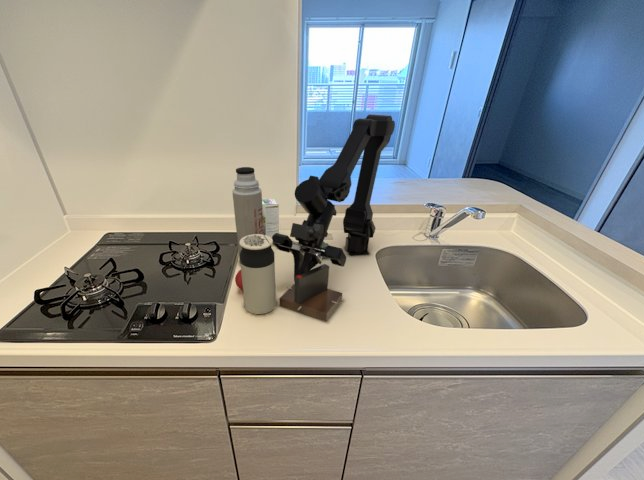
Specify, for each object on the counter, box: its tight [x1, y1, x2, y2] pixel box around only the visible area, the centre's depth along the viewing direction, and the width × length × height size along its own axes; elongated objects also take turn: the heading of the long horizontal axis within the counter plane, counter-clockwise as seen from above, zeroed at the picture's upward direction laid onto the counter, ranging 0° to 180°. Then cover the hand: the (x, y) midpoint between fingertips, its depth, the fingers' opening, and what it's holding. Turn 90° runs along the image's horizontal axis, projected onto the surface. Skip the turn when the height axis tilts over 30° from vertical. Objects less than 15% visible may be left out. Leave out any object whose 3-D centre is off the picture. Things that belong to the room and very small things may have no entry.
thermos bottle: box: [231, 166, 264, 266], centre depth 93 cm, size 8×8×28 cm
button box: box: [302, 241, 330, 260], centre depth 105 cm, size 10×8×4 cm
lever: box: [294, 263, 330, 304], centre depth 80 cm, size 10×2×7 cm, turn 130°
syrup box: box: [262, 198, 280, 246], centre depth 109 cm, size 6×6×14 cm
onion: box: [234, 269, 243, 291], centre depth 86 cm, size 6×6×8 cm
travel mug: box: [239, 234, 277, 315], centre depth 77 cm, size 8×8×18 cm
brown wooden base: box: [278, 283, 343, 322], centre depth 83 cm, size 14×14×3 cm
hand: (295, 281), depth 78 cm, fingers closed
